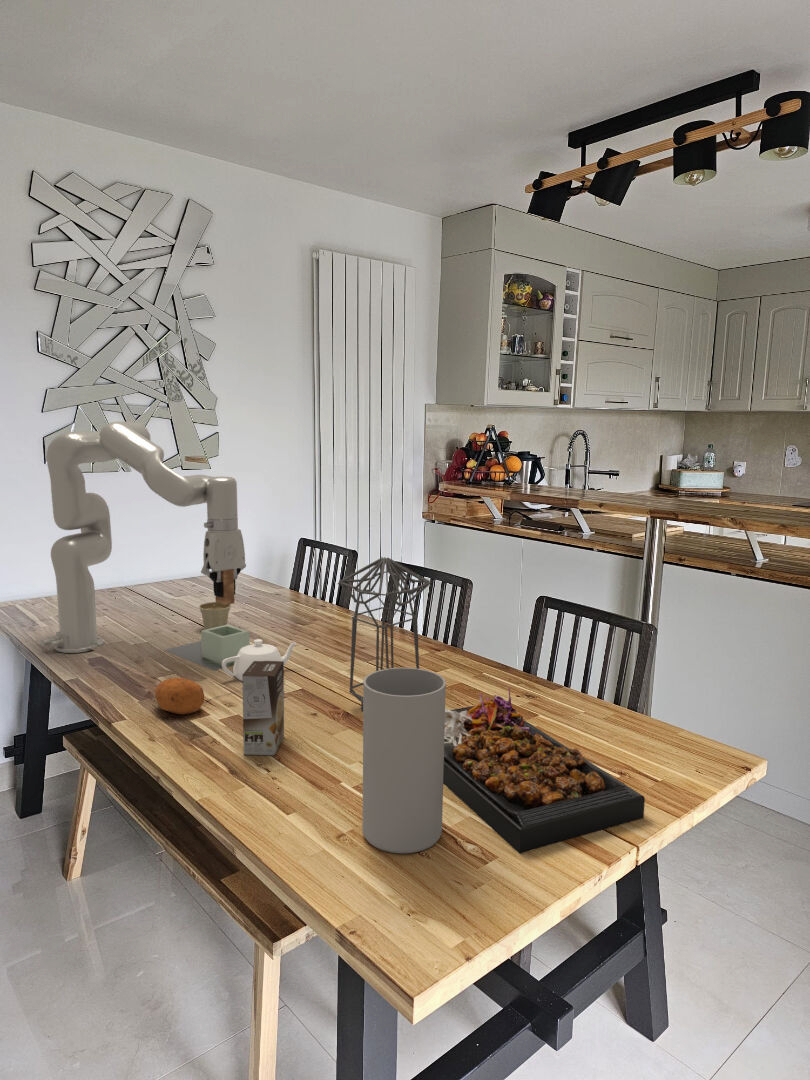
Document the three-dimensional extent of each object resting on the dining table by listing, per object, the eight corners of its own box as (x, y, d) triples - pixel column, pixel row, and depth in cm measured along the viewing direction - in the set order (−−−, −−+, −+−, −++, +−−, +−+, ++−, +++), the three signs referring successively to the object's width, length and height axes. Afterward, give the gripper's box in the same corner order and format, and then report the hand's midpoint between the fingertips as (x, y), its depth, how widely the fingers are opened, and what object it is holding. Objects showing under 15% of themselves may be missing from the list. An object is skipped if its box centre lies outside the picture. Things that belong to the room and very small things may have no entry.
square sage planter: (223, 667, 189) (222, 638, 188) (202, 659, 195) (201, 630, 194) (249, 659, 195) (249, 631, 194) (228, 652, 201) (228, 624, 200)
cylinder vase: (349, 845, 113) (349, 689, 109) (380, 806, 124) (382, 663, 120) (426, 863, 109) (430, 701, 104) (451, 821, 120) (456, 674, 116)
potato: (169, 723, 156) (168, 690, 155) (147, 708, 165) (145, 675, 163) (209, 712, 163) (208, 680, 161) (186, 698, 171) (185, 667, 170)
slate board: (214, 674, 187) (214, 670, 187) (163, 653, 202) (163, 649, 202) (259, 661, 197) (259, 657, 197) (207, 642, 213) (207, 639, 213)
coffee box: (275, 756, 142) (274, 676, 140) (242, 755, 142) (241, 675, 140) (285, 736, 151) (284, 660, 149) (253, 735, 151) (252, 659, 149)
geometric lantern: (433, 710, 166) (435, 558, 159) (381, 732, 155) (382, 569, 148) (385, 690, 177) (386, 547, 170) (334, 709, 166) (332, 557, 159)
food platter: (393, 740, 151) (394, 692, 150) (495, 720, 162) (496, 675, 160) (519, 857, 112) (521, 794, 110) (643, 821, 122) (647, 763, 120)
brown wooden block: (224, 605, 190) (223, 566, 189) (215, 602, 193) (214, 564, 191) (234, 603, 192) (233, 565, 191) (225, 600, 195) (224, 563, 193)
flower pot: (236, 629, 226) (235, 602, 225) (225, 638, 217) (225, 610, 215) (206, 628, 227) (205, 601, 226) (194, 637, 218) (193, 608, 216)
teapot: (285, 665, 195) (285, 627, 193) (308, 678, 185) (308, 639, 183) (212, 679, 183) (211, 639, 182) (232, 694, 173) (231, 653, 172)
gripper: (203, 530, 181) (206, 603, 184) (257, 523, 193) (259, 592, 196) (186, 526, 186) (189, 598, 189) (240, 520, 198) (242, 587, 201)
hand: (224, 594), depth 192 cm, fingers closed on brown wooden block, 3 cm apart
